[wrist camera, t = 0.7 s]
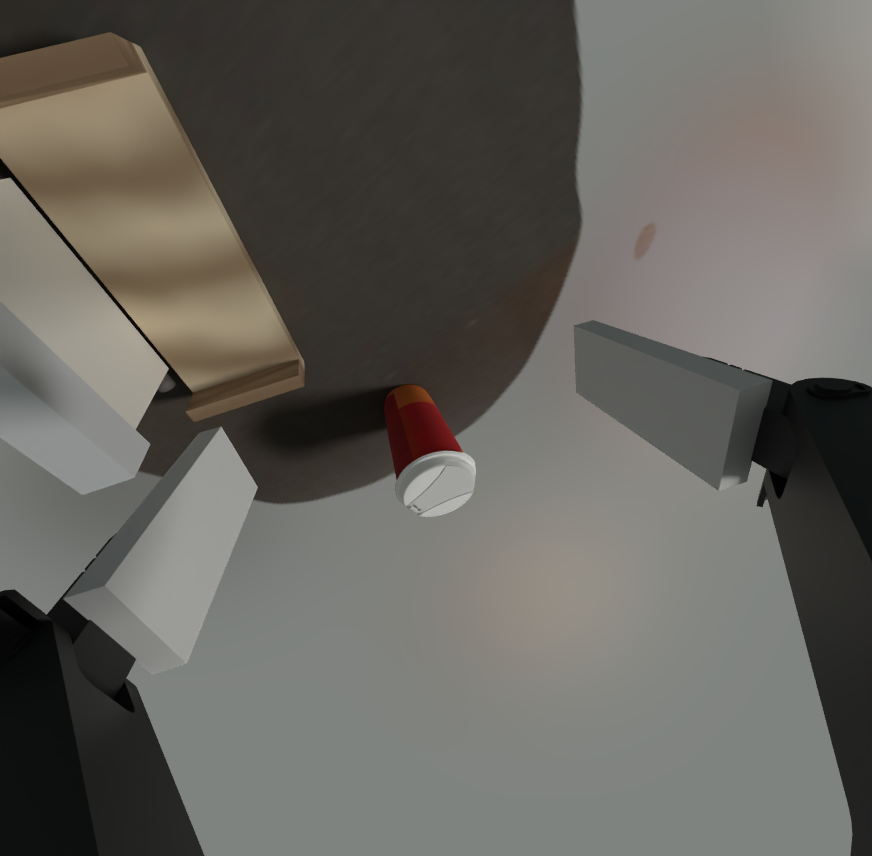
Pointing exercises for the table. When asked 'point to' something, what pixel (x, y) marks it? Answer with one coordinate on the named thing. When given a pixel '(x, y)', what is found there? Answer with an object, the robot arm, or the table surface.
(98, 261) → the cart bed
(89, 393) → the tailgate
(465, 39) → the table surface
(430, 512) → the paper cup
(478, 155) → the table surface
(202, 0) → the table surface
